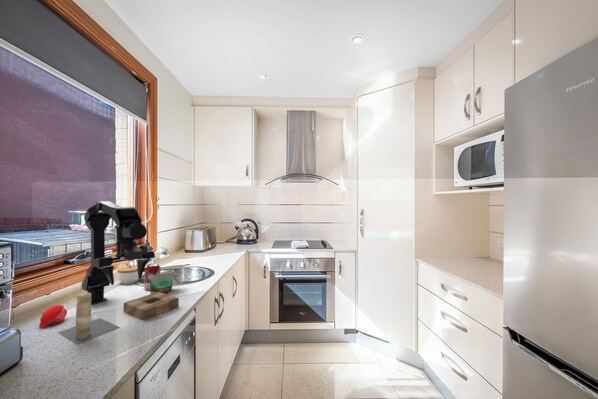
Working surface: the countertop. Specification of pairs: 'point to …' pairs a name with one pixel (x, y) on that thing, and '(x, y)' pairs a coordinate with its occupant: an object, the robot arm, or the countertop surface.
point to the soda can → (152, 270)
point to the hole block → (151, 305)
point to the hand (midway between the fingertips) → (126, 281)
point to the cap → (52, 315)
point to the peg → (83, 316)
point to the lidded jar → (128, 274)
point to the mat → (96, 330)
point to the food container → (161, 282)
